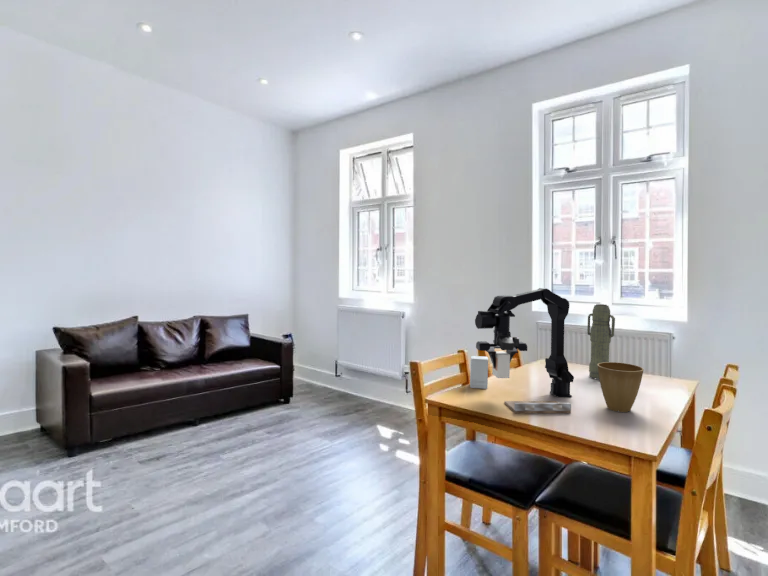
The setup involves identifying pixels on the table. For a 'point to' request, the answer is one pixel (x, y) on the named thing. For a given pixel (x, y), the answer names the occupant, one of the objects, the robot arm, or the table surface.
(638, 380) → the plant pot
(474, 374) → the supplement box
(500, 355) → the carton
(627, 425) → the table surface
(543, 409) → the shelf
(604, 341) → the thermos
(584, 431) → the table surface
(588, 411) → the table surface
